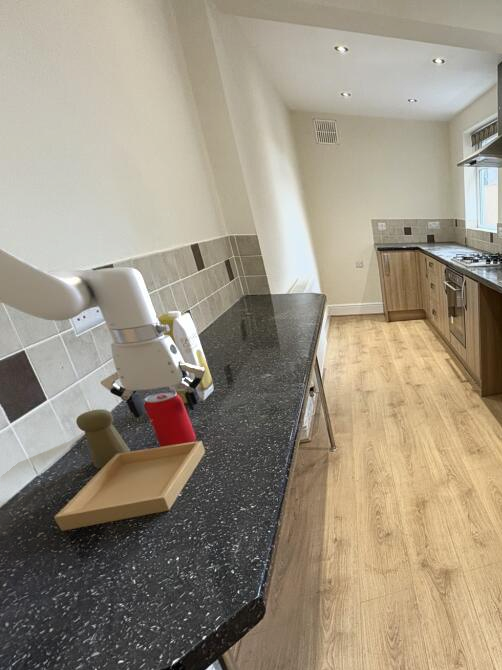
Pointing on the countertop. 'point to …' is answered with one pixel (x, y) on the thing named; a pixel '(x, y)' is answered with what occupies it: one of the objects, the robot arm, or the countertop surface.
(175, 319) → the juice carton
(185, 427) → the beverage can
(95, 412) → the pepper shaker
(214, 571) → the countertop surface
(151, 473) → the tray
